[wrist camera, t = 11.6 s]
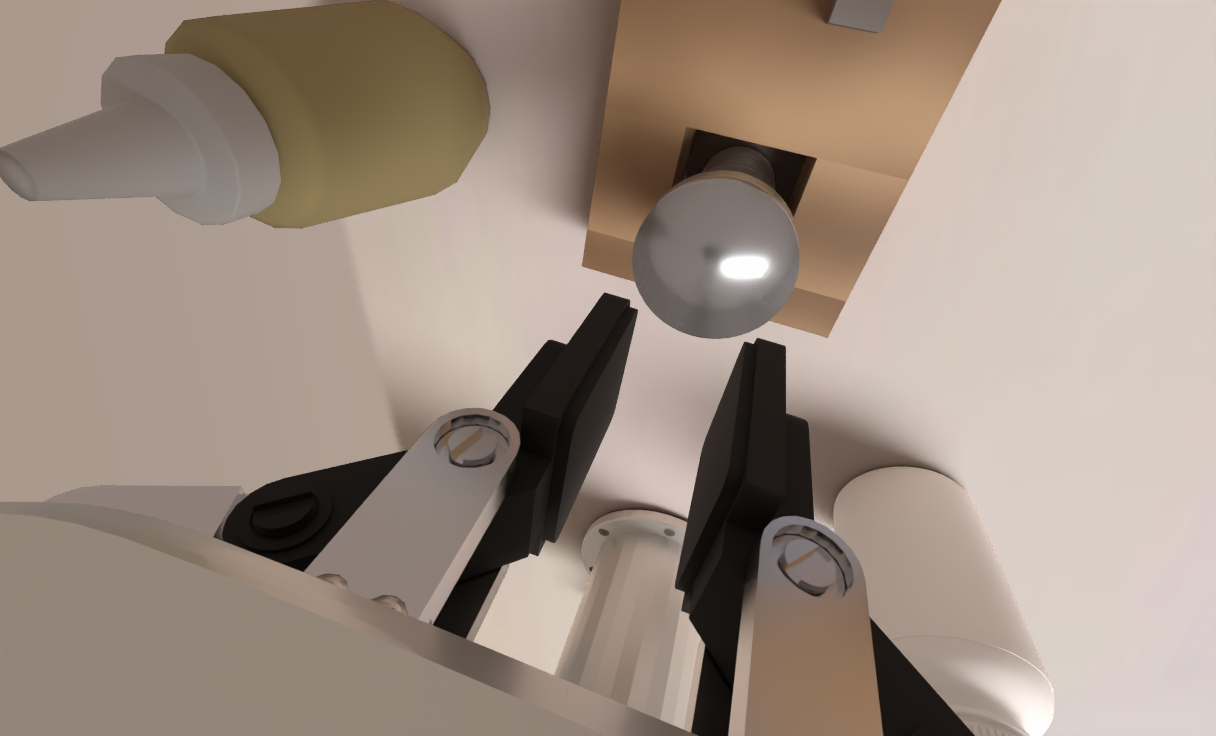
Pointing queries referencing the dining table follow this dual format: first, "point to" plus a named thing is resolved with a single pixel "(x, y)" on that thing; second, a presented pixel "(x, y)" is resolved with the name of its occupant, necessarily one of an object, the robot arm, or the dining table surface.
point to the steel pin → (719, 249)
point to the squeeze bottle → (271, 119)
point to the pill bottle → (945, 597)
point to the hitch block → (781, 117)
